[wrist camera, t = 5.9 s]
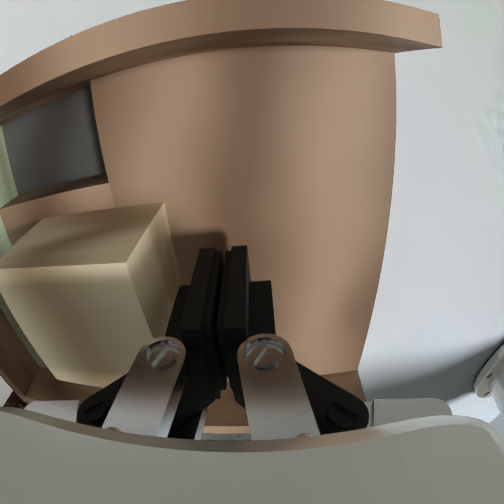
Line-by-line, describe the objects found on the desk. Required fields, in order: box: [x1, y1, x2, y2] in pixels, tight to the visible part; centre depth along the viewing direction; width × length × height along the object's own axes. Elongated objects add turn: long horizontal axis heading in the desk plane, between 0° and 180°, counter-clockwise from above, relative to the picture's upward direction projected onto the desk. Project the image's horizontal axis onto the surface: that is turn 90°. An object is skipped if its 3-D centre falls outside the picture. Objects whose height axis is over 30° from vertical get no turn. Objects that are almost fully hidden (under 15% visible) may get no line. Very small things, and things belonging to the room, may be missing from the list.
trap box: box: [0, 0, 442, 434], centre depth 12 cm, size 23×18×5 cm
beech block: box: [0, 202, 182, 388], centre depth 10 cm, size 6×6×4 cm
